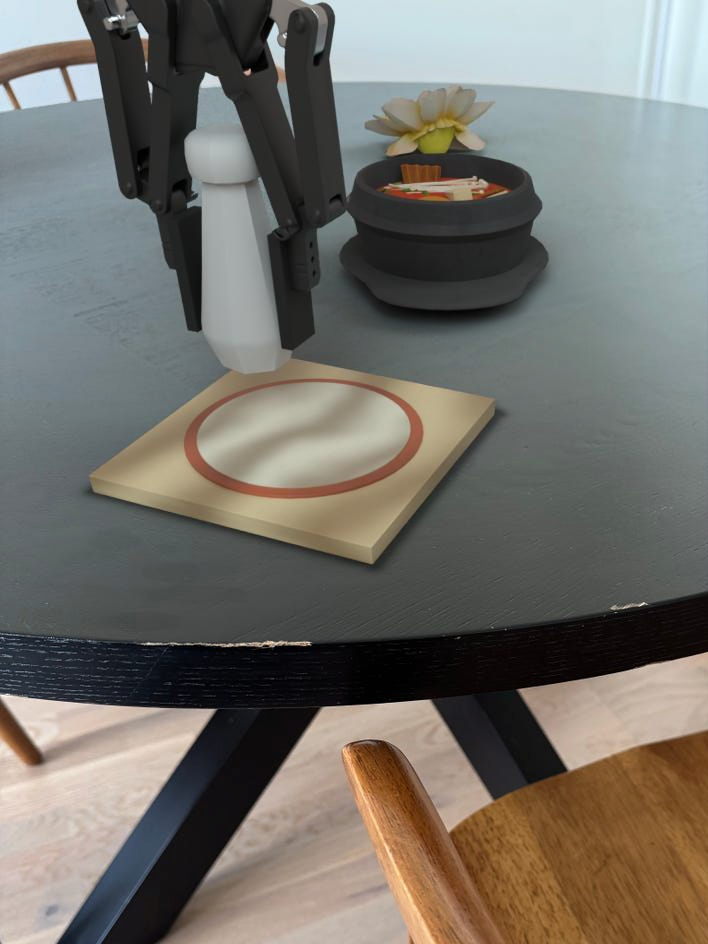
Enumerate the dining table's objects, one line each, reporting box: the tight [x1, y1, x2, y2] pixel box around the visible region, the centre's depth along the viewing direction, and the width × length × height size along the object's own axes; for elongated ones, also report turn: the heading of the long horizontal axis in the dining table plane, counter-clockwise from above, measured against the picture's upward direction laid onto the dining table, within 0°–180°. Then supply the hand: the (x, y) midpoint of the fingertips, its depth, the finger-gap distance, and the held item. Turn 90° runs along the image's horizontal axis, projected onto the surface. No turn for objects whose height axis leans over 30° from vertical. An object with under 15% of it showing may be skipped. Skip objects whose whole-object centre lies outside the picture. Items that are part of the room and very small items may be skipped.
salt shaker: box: [184, 123, 293, 374], centre depth 55 cm, size 6×6×13 cm
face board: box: [88, 357, 496, 565], centre depth 62 cm, size 19×19×2 cm
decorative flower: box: [364, 84, 497, 158], centre depth 112 cm, size 15×11×10 cm
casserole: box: [338, 152, 550, 312], centre depth 83 cm, size 25×19×8 cm
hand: (251, 331), depth 58 cm, fingers closed on salt shaker, 6 cm apart
